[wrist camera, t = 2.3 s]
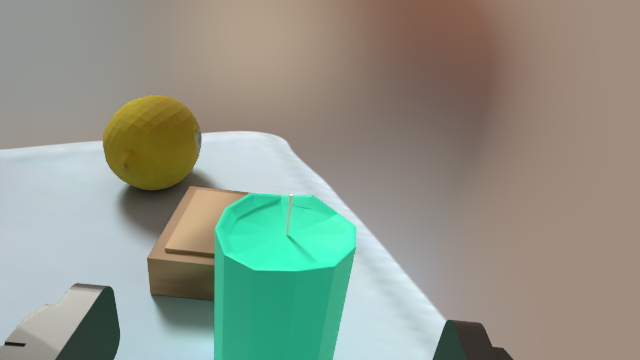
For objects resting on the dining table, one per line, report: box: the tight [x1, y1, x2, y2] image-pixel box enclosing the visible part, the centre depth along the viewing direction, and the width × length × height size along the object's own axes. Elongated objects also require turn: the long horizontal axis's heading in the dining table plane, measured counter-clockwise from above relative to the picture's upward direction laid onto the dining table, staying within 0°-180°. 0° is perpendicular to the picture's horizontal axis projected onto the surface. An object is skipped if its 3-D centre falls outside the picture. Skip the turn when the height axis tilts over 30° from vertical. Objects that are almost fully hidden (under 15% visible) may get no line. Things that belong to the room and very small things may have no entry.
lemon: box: [103, 95, 201, 190], centre depth 38 cm, size 11×8×8 cm
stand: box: [147, 186, 249, 301], centre depth 30 cm, size 9×9×3 cm
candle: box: [214, 193, 356, 360], centre depth 20 cm, size 6×6×12 cm
